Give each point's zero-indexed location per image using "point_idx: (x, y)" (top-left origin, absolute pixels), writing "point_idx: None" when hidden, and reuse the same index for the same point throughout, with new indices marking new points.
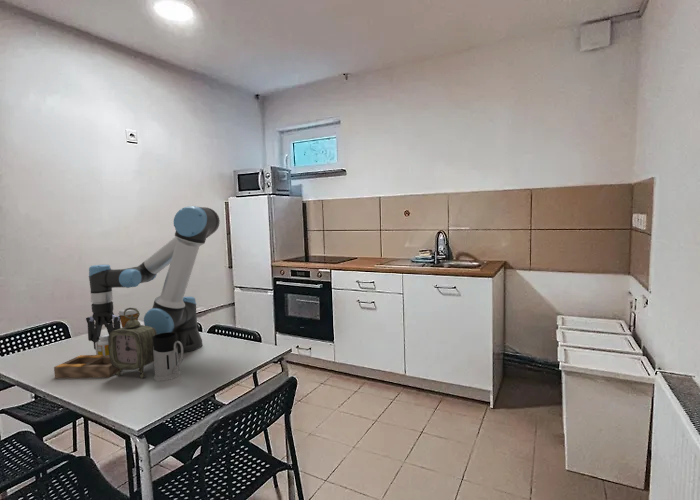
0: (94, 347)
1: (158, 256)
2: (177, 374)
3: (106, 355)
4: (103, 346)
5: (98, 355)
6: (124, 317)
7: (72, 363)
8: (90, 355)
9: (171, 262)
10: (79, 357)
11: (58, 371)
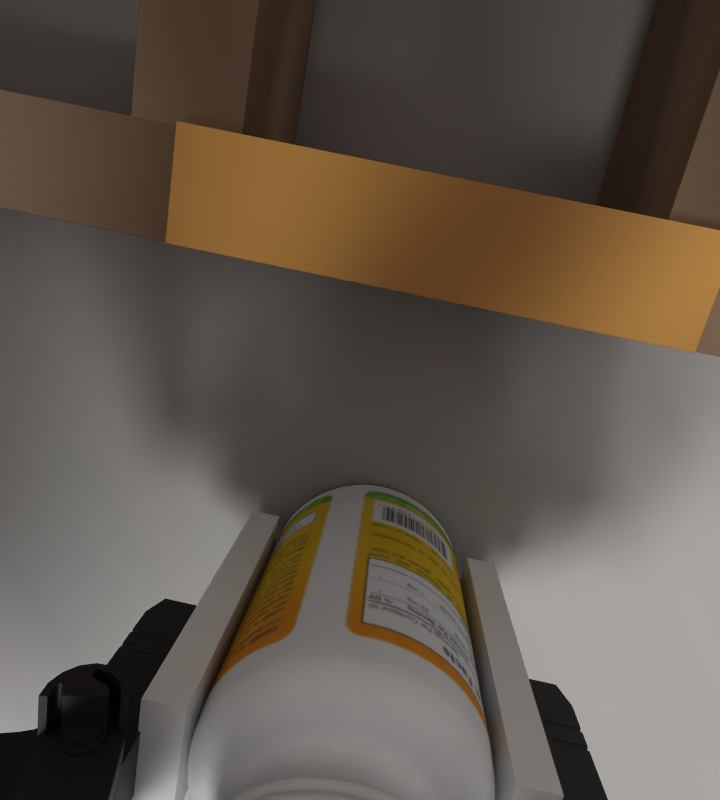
0: (566, 718)
1: None
2: None
3: (312, 522)
4: (318, 619)
5: (258, 230)
6: None
7: (710, 26)
8: (446, 275)
9: None
10: (660, 218)
11: None
